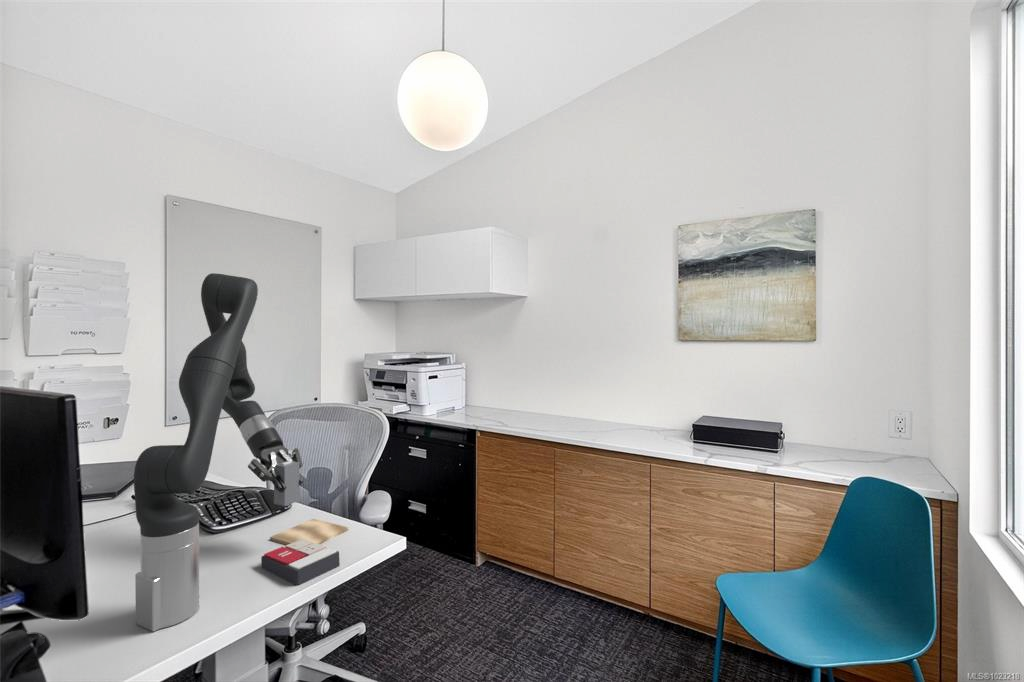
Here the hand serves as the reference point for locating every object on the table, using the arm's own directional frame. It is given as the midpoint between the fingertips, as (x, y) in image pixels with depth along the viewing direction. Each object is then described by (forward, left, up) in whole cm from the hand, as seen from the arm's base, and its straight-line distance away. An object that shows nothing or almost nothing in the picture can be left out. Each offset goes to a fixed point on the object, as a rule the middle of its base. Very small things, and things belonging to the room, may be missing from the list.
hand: (292, 487), depth 118 cm
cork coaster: (+8, +3, -16) cm, 18 cm away
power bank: (0, +2, -4) cm, 5 cm away
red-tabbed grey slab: (-5, -9, -17) cm, 20 cm away
